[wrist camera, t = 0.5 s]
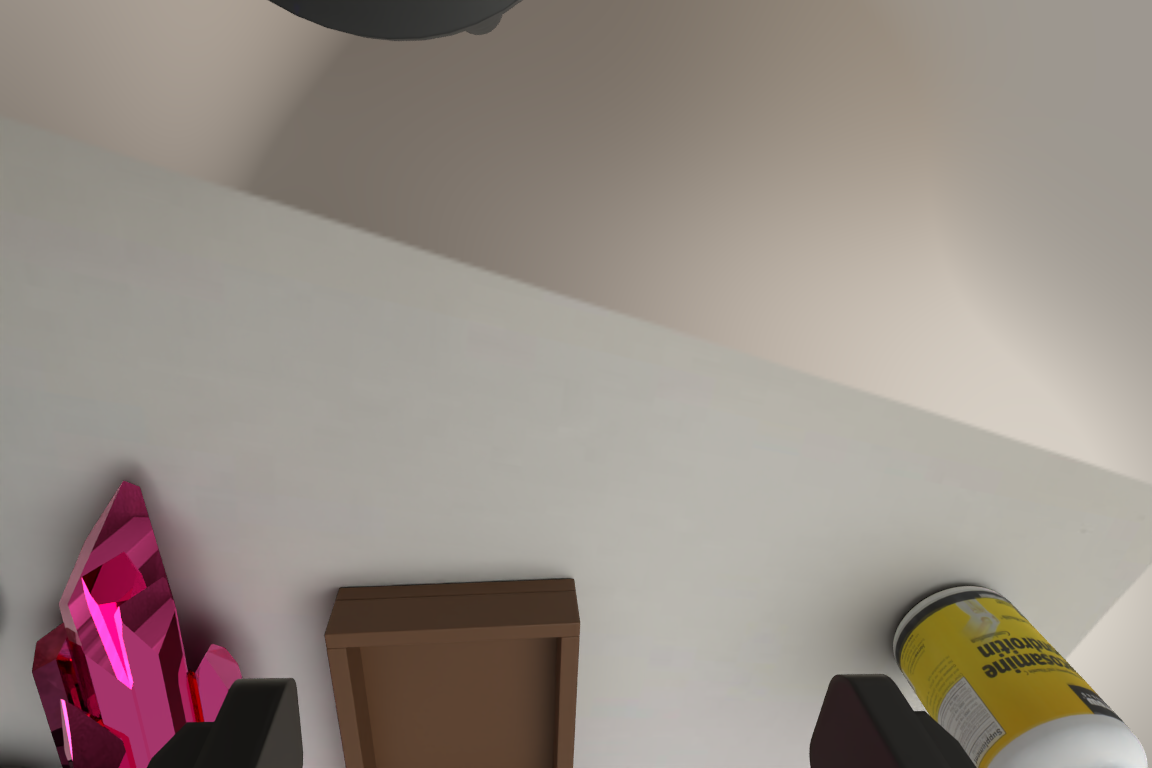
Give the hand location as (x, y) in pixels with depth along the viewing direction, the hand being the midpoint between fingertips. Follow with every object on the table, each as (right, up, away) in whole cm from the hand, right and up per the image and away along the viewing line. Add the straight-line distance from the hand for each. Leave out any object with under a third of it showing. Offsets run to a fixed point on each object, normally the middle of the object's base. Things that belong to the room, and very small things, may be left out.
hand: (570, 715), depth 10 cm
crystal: (-19, -9, +22) cm, 30 cm away
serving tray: (-6, -12, +24) cm, 27 cm away
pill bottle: (+19, -8, +25) cm, 33 cm away
